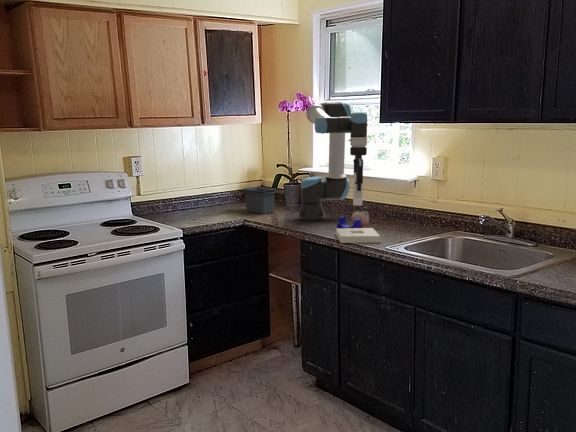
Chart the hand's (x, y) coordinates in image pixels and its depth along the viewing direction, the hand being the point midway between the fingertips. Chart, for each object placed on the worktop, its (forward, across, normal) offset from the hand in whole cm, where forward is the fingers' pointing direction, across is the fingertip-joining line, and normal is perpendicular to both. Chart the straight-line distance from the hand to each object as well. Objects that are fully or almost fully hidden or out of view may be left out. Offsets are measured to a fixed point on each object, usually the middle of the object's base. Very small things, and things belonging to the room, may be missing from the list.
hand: (357, 196), depth 258 cm
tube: (+4, 0, 0) cm, 4 cm away
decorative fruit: (+20, -23, +5) cm, 31 cm away
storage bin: (+19, -77, -47) cm, 93 cm away
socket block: (+20, 0, 0) cm, 20 cm away
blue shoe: (+20, -20, -1) cm, 28 cm away
